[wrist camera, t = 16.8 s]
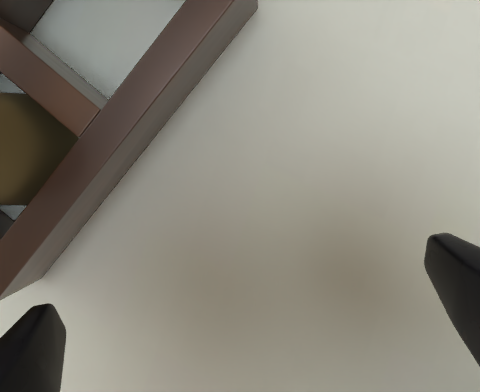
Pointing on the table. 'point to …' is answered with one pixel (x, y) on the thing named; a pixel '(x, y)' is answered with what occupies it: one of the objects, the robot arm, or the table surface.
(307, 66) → the table surface
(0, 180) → the olive game pawn
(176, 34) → the hole block
